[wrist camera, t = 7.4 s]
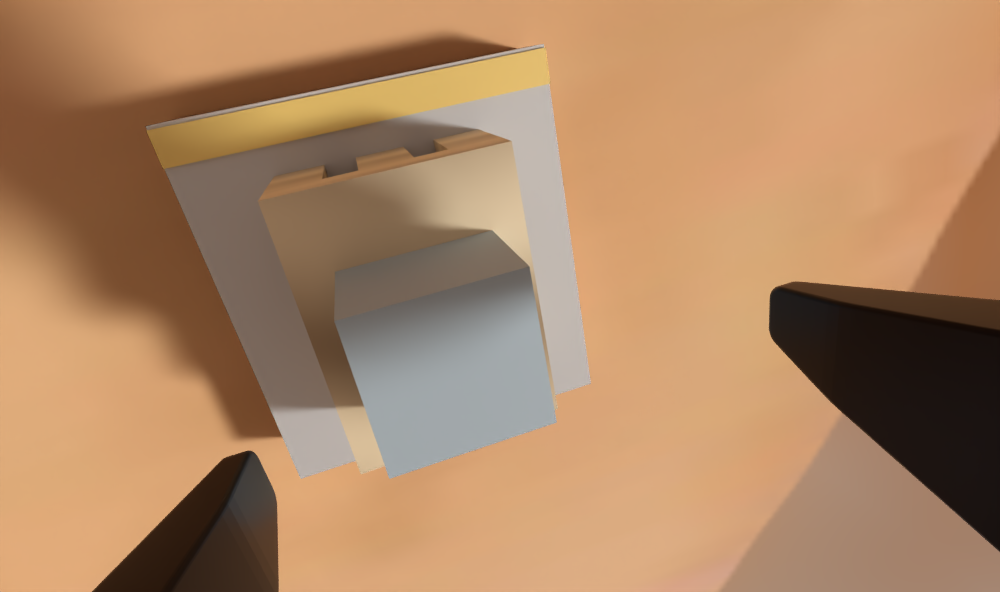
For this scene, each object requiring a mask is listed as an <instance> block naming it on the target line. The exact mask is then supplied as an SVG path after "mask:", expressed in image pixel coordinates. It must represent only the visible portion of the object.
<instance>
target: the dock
mask: <svg viewBox="0 0 1000 592" xmlns="http://www.w3.org/2000/svg"><path fill="white" fill-rule="evenodd" d="M549 84H550V77H549V70H548V63H547V55H546V48H544V44H541V45H535V46H530V47H524V48H518V49H513V50H509V51H504V52H499V53H494V54H489V55H484V56H480V57H475V58H470V59H465V60H460V61H455V62H451V63H446V64H441V65H436V66H431V67H426V68H421V69H417V70H412V71H407V72H402V73H397V74H392V75H388V76H383V77H378V78H373V79H368V80H363V81H359V82H354V83H349V84H344V85H339V86H334V87H330V88H325V89H320V90H315V91H310V92H305V93H300V94H296V95H291V96H286V97H281V98H276V99H271V100H267V101H262V102H257V103H252V104H247V105H242V106H238V107H233V108H228V109H223V110H218V111H213V112H209V113H204V114H199V115H194V116H189V117H184V118H179V119H175V120H170V121H166V122H162V123H158V124H153V125H149V126H146V129H147V131H146V132H147V134H148V136H149V138H150V141H151V143H152V145H153V148H154V150H155V152H156V154H157V157H158V159H159V161H160V163H161V166H162V168H163V169H165V172H166V174H167V176H168V179H169V181H170V183H171V185H172V188H173V190H174V192H175V194H176V197H177V199H178V201H179V204H180V206H181V208H182V210H183V213H184V215H185V217H186V219H187V222H188V224H189V226H190V228H191V231H192V233H193V235H194V238H195V240H196V242H197V244H198V247H199V249H200V251H201V253H202V256H203V258H204V260H205V263H206V265H207V267H208V269H209V272H210V274H211V276H212V278H213V281H214V283H215V285H216V288H217V290H218V292H219V294H220V297H221V299H222V301H223V303H224V306H225V308H226V310H227V312H228V315H229V317H230V319H231V322H232V324H233V326H234V328H235V331H236V333H237V335H238V337H239V340H240V342H241V344H242V347H243V349H244V351H245V353H246V356H247V358H248V360H249V362H250V365H251V367H252V369H253V372H254V374H255V376H256V378H257V381H258V383H259V385H260V387H261V390H262V392H263V394H264V396H265V399H266V401H267V403H268V406H269V408H270V410H271V412H272V415H273V417H274V419H275V421H276V424H277V426H278V428H279V431H280V433H281V435H282V437H283V440H284V442H285V444H286V446H287V449H288V451H289V453H290V456H291V458H292V460H293V462H294V465H295V467H296V469H297V471H298V474H299V476H300V478H301V479H302V478H305V477H308V476H311V475H314V474H317V473H320V472H323V471H326V470H329V469H332V468H335V467H338V466H341V465H344V464H347V463H350V462H353V461H356V460H355V457H354V455H353V452H352V449H351V447H350V444H349V441H348V439H347V436H346V434H345V431H344V428H343V426H342V423H341V420H340V418H339V415H338V412H337V410H336V407H335V404H334V402H333V399H332V396H331V394H330V391H329V389H328V386H327V383H326V381H325V378H324V375H323V373H322V370H321V367H320V365H319V362H318V359H317V357H316V354H315V351H314V349H313V346H312V344H311V341H310V338H309V336H308V333H307V330H306V328H305V325H304V322H303V320H302V317H301V314H300V312H299V309H298V307H297V304H296V301H295V299H294V296H293V293H292V291H291V288H290V285H289V283H288V280H287V277H286V275H285V272H284V269H283V267H282V264H281V262H280V259H279V256H278V254H277V251H276V248H275V246H274V243H273V240H272V238H271V235H270V232H269V230H268V227H267V224H266V222H265V219H264V217H263V214H262V211H261V209H260V206H259V203H258V200H259V198H260V197H261V195H262V194H263V192H264V191H265V189H266V188H267V186H268V185H269V183H270V182H271V180H272V179H273V177H274V176H278V175H282V174H286V173H291V172H295V171H299V170H304V169H308V168H312V167H317V166H321V165H325V168H326V172H327V175H328V177H333V176H337V175H341V174H345V173H350V172H354V171H358V166H357V161H356V157H360V156H364V155H369V154H373V153H378V152H382V151H386V150H391V149H395V148H399V147H404V148H405V149H406V150H407V151H408V152H409V153H410V154H411V155H412V156H413V157H418V156H422V155H426V154H431V153H435V152H436V150H435V146H434V142H433V140H434V139H438V138H443V137H447V136H451V135H456V134H460V133H464V132H469V131H473V130H477V129H479V130H482V131H485V132H488V133H490V134H493V135H496V136H499V137H502V138H505V139H508V140H510V141H512V145H513V151H514V157H515V163H516V169H517V174H518V180H519V186H520V192H521V198H522V203H523V209H524V215H525V221H526V227H527V233H528V238H529V244H530V250H531V256H532V262H533V267H534V273H535V279H536V285H537V291H538V297H539V302H540V308H541V314H542V320H543V326H544V331H545V337H546V343H547V349H548V355H549V361H550V366H551V372H552V378H553V384H554V390H555V395H558V394H561V393H564V392H567V391H570V390H573V389H576V388H579V387H582V386H585V385H588V384H591V381H590V374H589V367H588V360H587V352H586V345H585V338H584V331H583V324H582V316H581V309H580V302H579V295H578V287H577V280H576V273H575V266H574V259H573V251H572V244H571V237H570V230H569V223H568V215H567V208H566V201H565V194H564V187H563V179H562V172H561V165H560V158H559V150H558V143H557V136H556V129H555V122H554V114H553V107H552V100H551V93H550V86H549Z"/></svg>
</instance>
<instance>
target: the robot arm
mask: <svg viewBox="0 0 1000 592" xmlns="http://www.w3.org/2000/svg"><path fill="white" fill-rule="evenodd" d="M769 331H770V335H771V337H772V339H773V341H774V342H775V343H776V344H777V345H778V346H779V348H780V349H781V350H782V351H783V352H784V353H785V354H786V355H787V356H788V357H789V358H790V359H791V360H792V361H793V363H794V364H795V365H796V366H797V367H798V368H799V369H800V370H801V371H802V372H803V373H804V374H805V375H806V376H807V377H808V379H809V380H810V381H811V382H812V383H813V384H814V385H815V386H816V387H817V388H818V389H819V390H820V391H821V392H822V393H823V395H824V396H825V397H826V398H827V399H828V400H829V401H830V402H831V403H832V404H834V405H835V406H836V407H837V408H838V409H839V410H840V411H841V412H842V413H843V414H844V415H846V416H847V417H848V418H849V419H850V420H851V421H852V422H853V423H855V424H856V425H857V426H858V427H859V428H860V429H862V430H863V431H864V432H865V433H866V434H867V435H868V436H869V437H871V438H872V439H873V440H874V441H875V442H876V443H877V444H878V445H879V446H881V447H882V448H883V449H884V450H885V451H886V452H887V453H889V454H890V455H891V456H892V457H893V458H894V459H895V460H896V461H898V462H899V463H900V464H901V465H902V466H903V467H905V469H907V470H908V471H909V472H910V473H911V474H912V475H913V476H915V477H916V478H917V479H918V480H919V481H920V482H922V484H924V485H925V486H926V487H927V488H928V489H929V490H930V491H931V492H933V493H934V494H935V495H936V496H937V497H938V498H939V499H941V500H942V501H943V502H944V503H945V504H946V505H947V506H949V507H950V508H951V509H952V510H953V511H954V512H955V513H956V514H958V515H959V516H960V517H961V518H962V519H963V520H964V521H966V522H967V523H968V524H969V525H970V526H971V527H972V528H973V529H974V530H976V531H977V532H978V533H979V534H980V535H981V536H982V537H984V538H985V539H986V540H987V541H988V542H989V543H990V544H991V545H993V546H994V547H995V548H996V549H997V550H998V551H1000V300H992V299H980V298H970V297H959V296H948V295H936V294H927V293H916V292H905V291H894V290H883V289H873V288H862V287H851V286H840V285H829V284H819V283H808V282H791V283H787V284H784V285H781V286H778V287H775V288H774V289H773V290H772V292H771V294H770V311H769ZM92 592H279V579H278V527H277V501H276V496H275V492H274V490H273V487H272V485H271V483H270V481H269V479H268V477H267V475H266V473H265V471H264V469H263V466H262V464H261V462H260V460H259V458H258V456H257V455H256V454H255V453H254V452H252V451H245V452H242V453H238V454H235V455H232V456H229V457H226V458H224V459H223V460H221V461H220V462H219V463H218V464H217V465H216V467H215V468H214V469H213V470H212V471H211V472H210V473H209V474H208V475H207V476H206V477H205V478H204V479H203V480H202V481H201V482H200V483H199V484H198V485H197V486H196V487H195V488H194V489H193V490H192V491H191V492H190V493H189V494H188V495H187V496H186V497H185V498H184V499H183V500H182V501H181V502H180V503H179V504H178V505H177V506H176V507H175V508H174V509H173V510H172V511H171V512H170V513H169V514H168V515H167V516H166V517H165V518H164V519H163V520H162V521H161V522H160V523H159V524H158V525H157V526H156V527H155V528H154V529H153V530H152V531H151V532H150V533H149V534H148V535H147V536H146V537H145V538H144V539H143V541H142V542H141V543H140V544H139V545H138V546H137V547H136V548H135V549H134V550H133V551H132V552H131V553H130V554H129V555H128V556H127V557H126V558H125V559H124V560H123V561H122V562H121V563H120V564H119V565H118V566H117V567H116V568H115V569H114V570H113V571H112V572H111V573H110V574H109V575H108V576H107V577H106V578H105V579H104V580H103V581H102V582H101V583H100V584H99V585H98V586H97V587H96V588H95V589H94V590H93V591H92Z"/></svg>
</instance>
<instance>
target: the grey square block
mask: <svg viewBox="0 0 1000 592" xmlns="http://www.w3.org/2000/svg"><path fill="white" fill-rule="evenodd" d="M334 322H335V325H336V327H337V330H338V333H339V336H340V339H341V342H342V345H343V347H344V350H345V353H346V356H347V359H348V362H349V365H350V367H351V370H352V373H353V376H354V379H355V382H356V385H357V387H358V390H359V393H360V396H361V399H362V402H363V405H364V407H365V410H366V413H367V416H368V419H369V422H370V424H371V427H372V430H373V433H374V436H375V439H376V442H377V444H378V447H379V450H380V453H381V456H382V459H383V462H384V464H385V467H386V470H387V473H388V476H389V479H390V478H393V477H396V476H399V475H402V474H405V473H408V472H411V471H414V470H417V469H420V468H423V467H426V466H429V465H432V464H435V463H438V462H441V461H444V460H447V459H450V458H453V457H456V456H458V455H461V454H464V453H467V452H470V451H473V450H476V449H479V448H482V447H485V446H488V445H491V444H494V443H497V442H500V441H503V440H506V439H509V438H512V437H515V436H518V435H521V434H524V433H527V432H530V431H533V430H536V429H539V428H542V427H545V426H548V425H551V424H554V423H556V422H557V421H556V416H555V410H554V404H553V398H552V393H551V387H550V381H549V375H548V370H547V364H546V358H545V353H544V347H543V341H542V335H541V330H540V324H539V318H538V312H537V307H536V301H535V295H534V290H533V284H532V278H531V272H530V267H529V265H528V264H527V263H526V262H524V261H523V260H522V259H521V258H520V257H519V256H518V255H517V254H516V253H515V252H514V251H513V250H512V249H511V248H510V247H509V246H508V245H507V244H506V243H505V242H504V241H503V240H502V239H501V238H500V237H499V236H498V235H497V234H496V233H495V232H494V231H493V230H491V231H487V232H484V233H480V234H476V235H472V236H468V237H465V238H461V239H457V240H453V241H450V242H446V243H442V244H438V245H434V246H431V247H427V248H423V249H419V250H416V251H412V252H408V253H404V254H400V255H397V256H393V257H389V258H385V259H382V260H378V261H374V262H370V263H366V264H363V265H359V266H355V267H351V268H348V269H344V270H340V271H336V272H335V306H334Z"/></svg>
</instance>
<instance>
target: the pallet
mask: <svg viewBox="0 0 1000 592" xmlns="http://www.w3.org/2000/svg"><path fill="white" fill-rule="evenodd" d="M433 142H434V146H435V150H436V152H435V153H431V154H426V155H422V156H418V157H413V156H412V155H411V154H410V153H409V152H408V151H407V150H406V149H405V148H404V147H399V148H395V149H391V150H386V151H382V152H378V153H373V154H369V155H364V156H360V157H356V161H357V166H358V171H354V172H350V173H345V174H341V175H337V176H333V177H328V175H327V172H326V168H325V165H321V166H317V167H312V168H308V169H304V170H299V171H295V172H291V173H286V174H282V175H278V176H274V177H273V179H272V180H271V182H270V183H269V185H268V186H267V188H266V189H265V191H264V192H263V194H262V195H261V197H260V198H259V200H258V203H259V206H260V209H261V211H262V214H263V217H264V219H265V222H266V224H267V227H268V230H269V232H270V235H271V238H272V240H273V243H274V246H275V248H276V251H277V254H278V256H279V259H280V262H281V264H282V267H283V269H284V272H285V275H286V277H287V280H288V283H289V285H290V288H291V291H292V293H293V296H294V299H295V301H296V304H297V307H298V309H299V312H300V314H301V317H302V320H303V322H304V325H305V328H306V330H307V333H308V336H309V338H310V341H311V344H312V346H313V349H314V351H315V354H316V357H317V359H318V362H319V365H320V367H321V370H322V373H323V375H324V378H325V381H326V383H327V386H328V389H329V391H330V394H331V396H332V399H333V402H334V404H335V407H336V410H337V412H338V415H339V418H340V420H341V423H342V426H343V428H344V431H345V434H346V436H347V439H348V441H349V444H350V447H351V449H352V452H353V455H354V457H355V460H356V463H357V465H358V468H359V471H360V473H361V474H363V473H366V472H369V471H372V470H375V469H378V468H381V467H384V466H385V464H384V462H383V459H382V456H381V453H380V450H379V447H378V444H377V442H376V439H375V436H374V433H373V430H372V427H371V424H370V422H369V419H368V416H367V413H366V410H365V407H364V405H363V402H362V399H361V396H360V393H359V390H358V387H357V385H356V382H355V379H354V376H353V373H352V370H351V367H350V365H349V362H348V359H347V356H346V353H345V350H344V347H343V345H342V342H341V339H340V336H339V333H338V330H337V327H336V325H335V322H334V306H335V272H336V271H340V270H344V269H348V268H351V267H355V266H359V265H363V264H366V263H370V262H374V261H378V260H382V259H385V258H389V257H393V256H397V255H400V254H404V253H408V252H412V251H416V250H419V249H423V248H427V247H431V246H434V245H438V244H442V243H446V242H450V241H453V240H457V239H461V238H465V237H468V236H472V235H476V234H480V233H484V232H487V231H491V230H493V231H494V232H495V233H496V234H497V235H498V236H499V237H500V238H501V239H502V240H503V241H504V242H505V243H506V244H507V245H508V246H509V247H510V248H511V249H512V250H513V251H514V252H515V253H516V254H517V255H518V256H519V257H520V258H521V259H522V260H523V261H524V262H526V263H527V264H528V265H529V267H530V272H531V278H532V284H533V290H534V295H535V301H536V307H537V312H538V318H539V324H540V330H541V335H542V341H543V347H544V353H545V358H546V364H547V370H548V375H549V381H550V387H551V393H552V398H553V404H554V410H556V409H558V407H557V401H556V395H555V390H554V384H553V378H552V372H551V366H550V361H549V355H548V349H547V343H546V337H545V331H544V326H543V320H542V314H541V308H540V302H539V297H538V291H537V285H536V279H535V273H534V267H533V262H532V256H531V250H530V244H529V238H528V233H527V227H526V221H525V215H524V209H523V203H522V198H521V192H520V186H519V180H518V174H517V169H516V163H515V157H514V151H513V145H512V141H510V140H508V139H505V138H502V137H499V136H496V135H493V134H490V133H488V132H485V131H482V130H479V129H477V130H473V131H469V132H464V133H460V134H456V135H451V136H447V137H443V138H438V139H434V140H433Z"/></svg>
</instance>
